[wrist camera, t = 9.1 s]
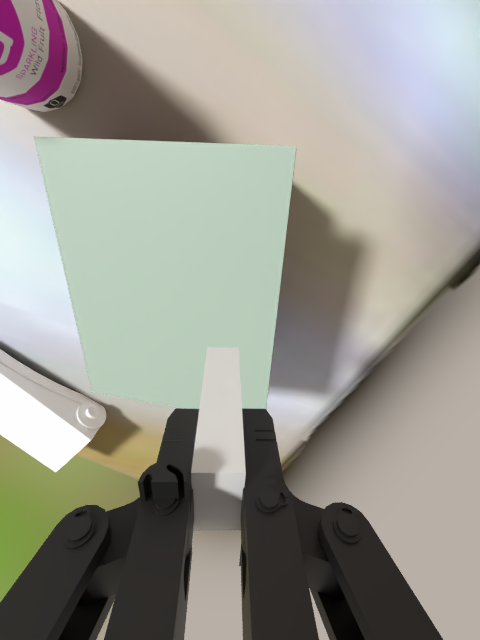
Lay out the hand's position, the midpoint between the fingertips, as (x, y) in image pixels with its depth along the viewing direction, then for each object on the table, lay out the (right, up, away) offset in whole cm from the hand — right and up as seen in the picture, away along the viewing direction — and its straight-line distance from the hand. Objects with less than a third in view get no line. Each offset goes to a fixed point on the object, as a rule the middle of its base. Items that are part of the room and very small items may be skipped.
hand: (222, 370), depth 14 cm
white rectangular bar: (-30, -4, +23) cm, 38 cm away
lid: (-4, +4, +8) cm, 10 cm away
